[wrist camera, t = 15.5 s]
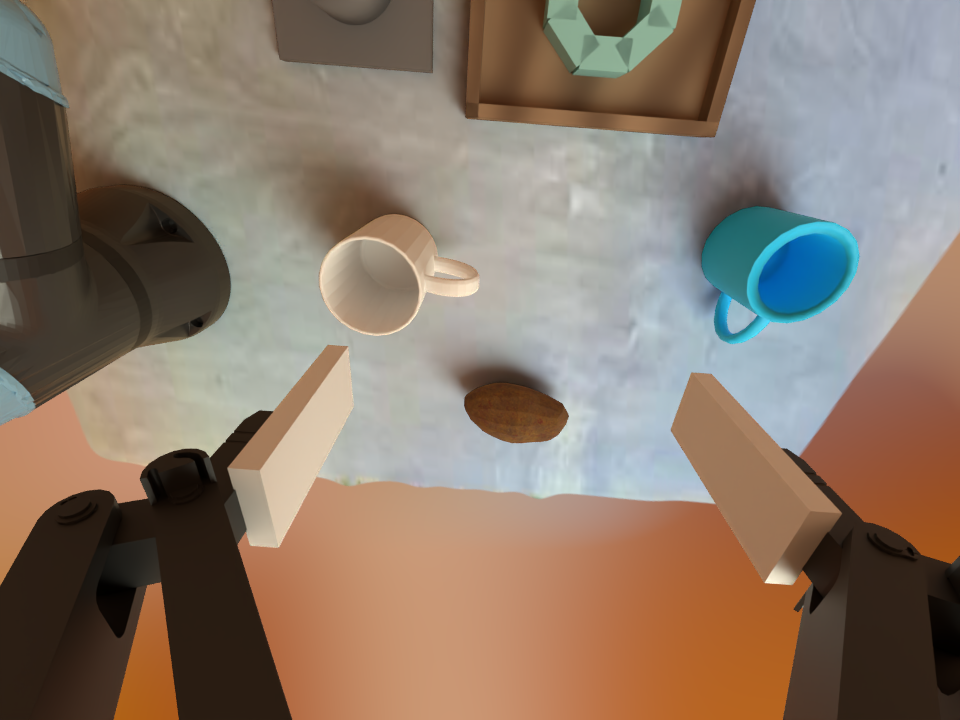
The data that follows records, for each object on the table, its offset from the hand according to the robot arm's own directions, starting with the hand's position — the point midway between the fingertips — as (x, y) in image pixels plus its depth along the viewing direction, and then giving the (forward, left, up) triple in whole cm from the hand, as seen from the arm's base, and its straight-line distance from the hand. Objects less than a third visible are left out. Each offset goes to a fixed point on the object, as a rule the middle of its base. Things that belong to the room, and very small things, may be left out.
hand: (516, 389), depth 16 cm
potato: (+3, -18, -27) cm, 32 cm away
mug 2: (+23, -1, -27) cm, 35 cm away
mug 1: (-8, -2, -27) cm, 28 cm away
